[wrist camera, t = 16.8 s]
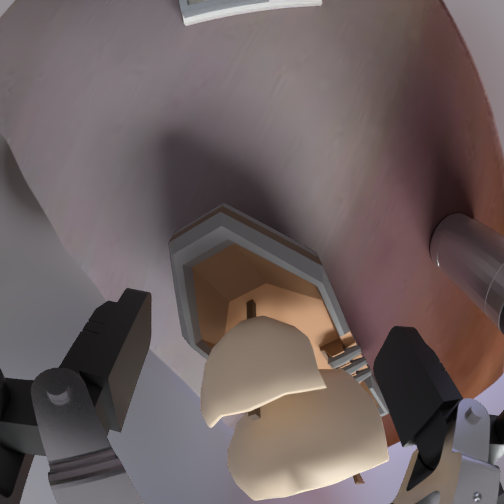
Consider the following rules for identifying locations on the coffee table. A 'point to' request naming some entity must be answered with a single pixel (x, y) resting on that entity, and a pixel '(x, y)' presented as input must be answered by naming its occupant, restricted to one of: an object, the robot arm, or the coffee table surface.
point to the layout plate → (233, 8)
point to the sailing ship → (275, 356)
